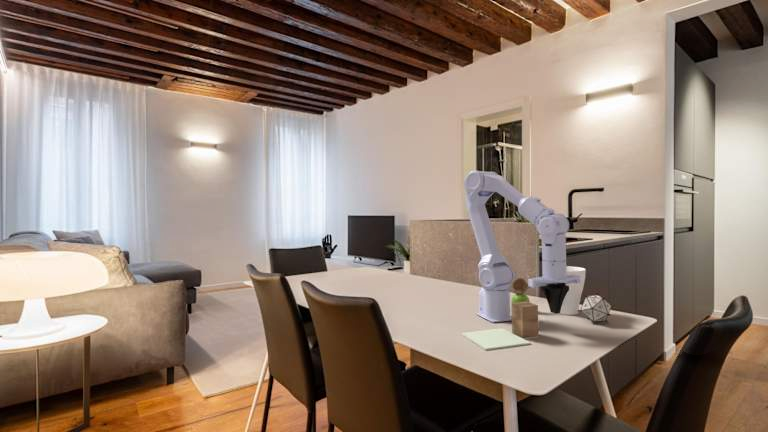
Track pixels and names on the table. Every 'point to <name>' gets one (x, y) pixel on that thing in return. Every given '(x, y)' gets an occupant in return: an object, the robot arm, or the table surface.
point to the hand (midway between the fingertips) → (555, 312)
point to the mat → (495, 339)
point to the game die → (596, 308)
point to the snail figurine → (520, 289)
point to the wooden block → (525, 320)
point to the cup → (573, 291)
